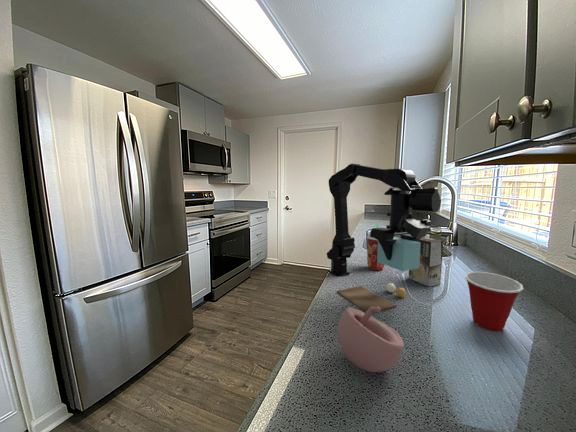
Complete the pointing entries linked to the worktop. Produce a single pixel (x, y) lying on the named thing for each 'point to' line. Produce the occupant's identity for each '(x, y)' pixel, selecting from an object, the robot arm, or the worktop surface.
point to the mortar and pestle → (368, 340)
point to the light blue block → (401, 255)
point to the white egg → (390, 287)
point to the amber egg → (401, 292)
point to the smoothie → (373, 253)
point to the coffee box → (429, 262)
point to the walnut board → (365, 298)
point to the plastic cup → (491, 298)
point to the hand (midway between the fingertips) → (397, 258)
